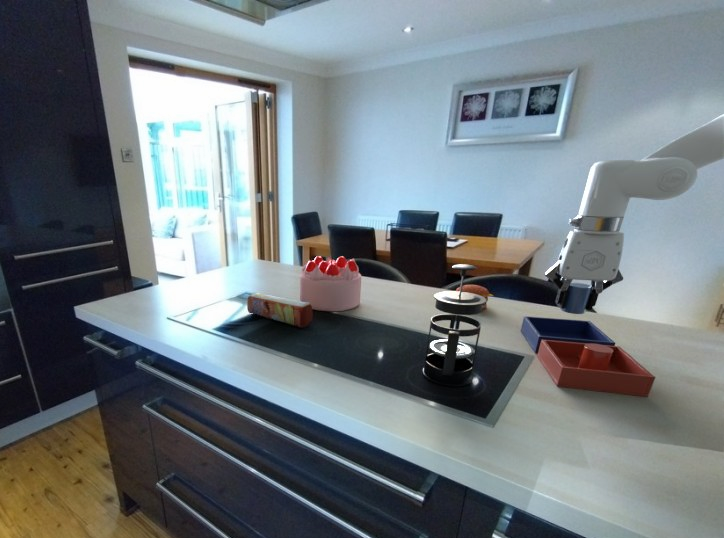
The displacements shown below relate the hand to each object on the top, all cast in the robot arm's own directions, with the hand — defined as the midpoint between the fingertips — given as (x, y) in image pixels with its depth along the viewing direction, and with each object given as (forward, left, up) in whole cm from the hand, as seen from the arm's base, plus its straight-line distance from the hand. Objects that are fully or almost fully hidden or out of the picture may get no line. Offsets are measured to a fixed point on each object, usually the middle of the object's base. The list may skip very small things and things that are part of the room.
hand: (573, 307), depth 88 cm
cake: (+60, -20, -10) cm, 64 cm away
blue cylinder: (0, -2, -1) cm, 2 cm away
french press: (+27, +24, -10) cm, 37 cm away
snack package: (+71, -1, -10) cm, 72 cm away
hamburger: (+17, -27, -10) cm, 34 cm away
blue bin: (0, -1, -10) cm, 10 cm away
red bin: (0, +15, -10) cm, 18 cm away
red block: (0, +14, -9) cm, 17 cm away
